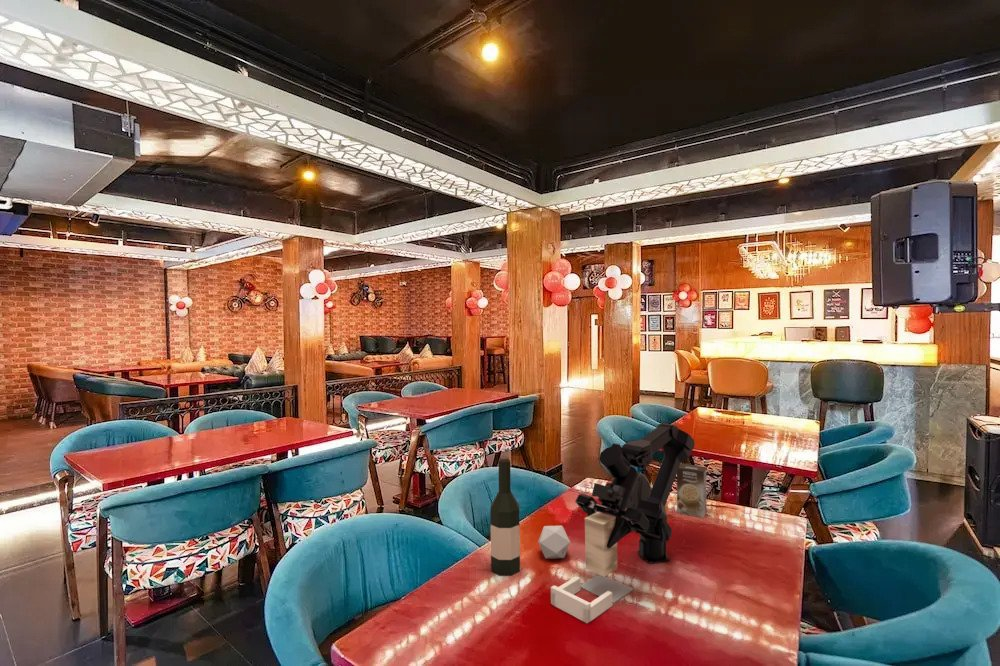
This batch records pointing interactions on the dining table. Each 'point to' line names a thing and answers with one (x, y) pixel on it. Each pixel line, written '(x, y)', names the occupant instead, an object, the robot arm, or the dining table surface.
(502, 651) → the dining table surface
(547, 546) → the die
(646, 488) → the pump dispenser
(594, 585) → the grey pad
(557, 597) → the white angular bracket
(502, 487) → the wine bottle
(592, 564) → the birch block
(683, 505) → the coffee box
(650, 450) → the robot arm
